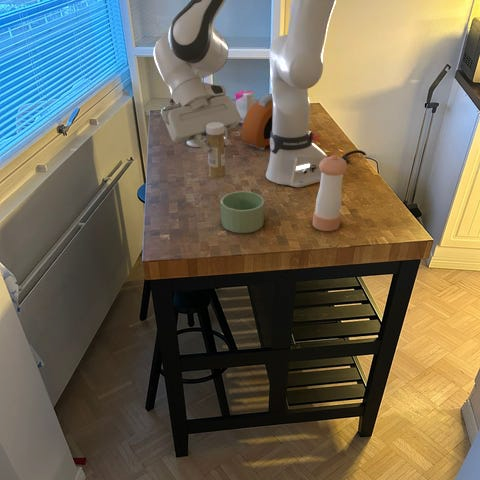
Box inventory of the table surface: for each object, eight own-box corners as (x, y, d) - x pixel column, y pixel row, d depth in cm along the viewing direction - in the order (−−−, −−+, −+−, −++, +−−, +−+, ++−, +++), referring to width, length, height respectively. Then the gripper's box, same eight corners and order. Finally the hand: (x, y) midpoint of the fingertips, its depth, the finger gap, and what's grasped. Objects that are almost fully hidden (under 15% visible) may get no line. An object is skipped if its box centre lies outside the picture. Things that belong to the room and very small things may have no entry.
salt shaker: (307, 224, 129) (313, 155, 117) (323, 215, 133) (331, 147, 121) (328, 234, 126) (337, 163, 113) (344, 224, 129) (355, 155, 117)
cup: (254, 209, 136) (255, 188, 132) (270, 228, 128) (270, 206, 124) (216, 216, 133) (215, 195, 129) (229, 236, 125) (228, 214, 121)
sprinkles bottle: (229, 177, 126) (227, 125, 117) (214, 181, 124) (211, 128, 115) (220, 171, 128) (218, 120, 120) (205, 175, 127) (202, 123, 118)
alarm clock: (256, 153, 169) (257, 103, 158) (240, 146, 174) (240, 98, 164) (303, 138, 180) (306, 91, 169) (286, 132, 186) (289, 85, 175)
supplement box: (254, 121, 196) (254, 91, 188) (247, 125, 192) (247, 95, 184) (242, 119, 198) (242, 89, 190) (235, 123, 194) (234, 93, 187)
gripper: (161, 100, 113) (188, 153, 113) (229, 85, 122) (253, 133, 123) (154, 115, 118) (179, 165, 119) (219, 99, 128) (242, 145, 128)
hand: (217, 149), depth 121 cm, fingers closed on sprinkles bottle, 4 cm apart
